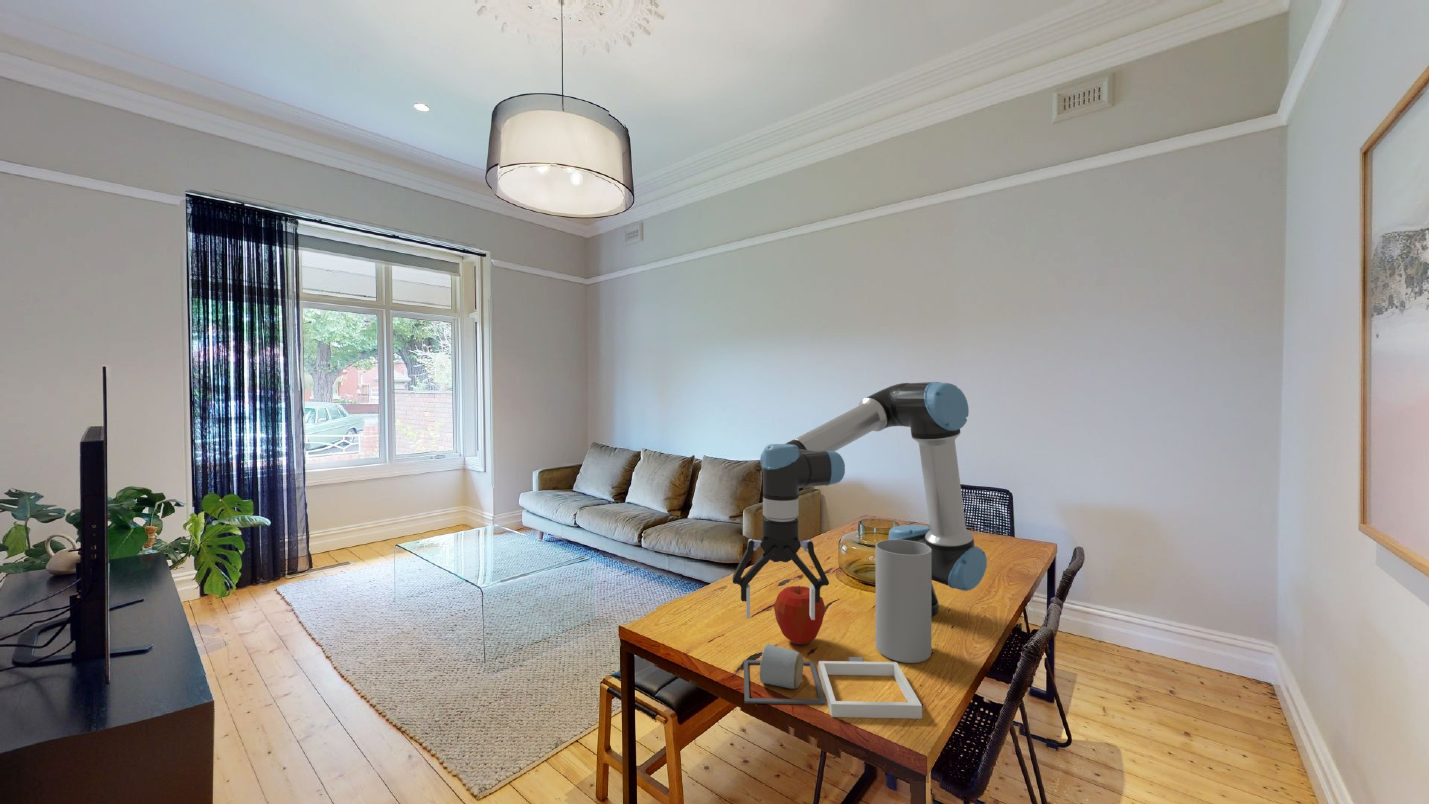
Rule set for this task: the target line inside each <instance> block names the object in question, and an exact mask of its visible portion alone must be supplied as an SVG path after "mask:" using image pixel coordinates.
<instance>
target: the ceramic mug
mask: <svg viewBox="0 0 1429 804" xmlns="http://www.w3.org/2000/svg"><path fill="white" fill-rule="evenodd" d="M760 660H761V662H760V664H759V679H760V683H762V684H766V685H771V686H776V687H781V688H786V689H791V690H793V689H794V690H795V689H798V688H799V687H800V686H801V682H802V679H803V674H804V673H803V672H804V665H803V661H804V656H803V654H802V653H800V652H799V651H796V650H794V649H789V648H785V647H782V646H777V645H775V644H770V643H768V644H765V645H764V647H763V649H762V653H761V656H760Z"/></svg>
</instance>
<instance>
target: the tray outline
mask: <svg viewBox="0 0 1429 804" xmlns="http://www.w3.org/2000/svg"><path fill="white" fill-rule="evenodd" d="M760 662H761V659H760V660H759V659H755V660H754V659H748V660H747V659H743V688H744V689H743V691H744V692H743V693H744V694H743V695H744V704H776V705H777V704H779V705H782V704H783V705H826V698H825V695H824V691H823V690H822V684H821V681H820V677H819V676H818V675H819V674H818V672H817V671H818V670H817V668H816V665H815V661H813V660H803V666H810V667H809V668H810V670H811V675H812V678H813V682H814V685H815V689H816V693H817V697H818V698H815V699H814V698H813V699H812V698H811V699H810V698H763V697H761V698H756V697H755V698H754V697H750V679H749V678H750V677H749V674H750V673H749V665H760Z"/></svg>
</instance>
